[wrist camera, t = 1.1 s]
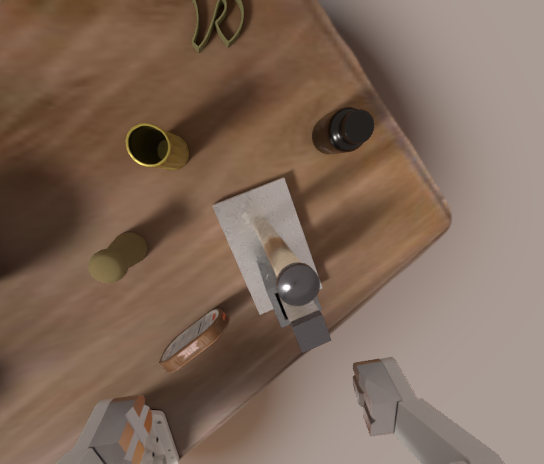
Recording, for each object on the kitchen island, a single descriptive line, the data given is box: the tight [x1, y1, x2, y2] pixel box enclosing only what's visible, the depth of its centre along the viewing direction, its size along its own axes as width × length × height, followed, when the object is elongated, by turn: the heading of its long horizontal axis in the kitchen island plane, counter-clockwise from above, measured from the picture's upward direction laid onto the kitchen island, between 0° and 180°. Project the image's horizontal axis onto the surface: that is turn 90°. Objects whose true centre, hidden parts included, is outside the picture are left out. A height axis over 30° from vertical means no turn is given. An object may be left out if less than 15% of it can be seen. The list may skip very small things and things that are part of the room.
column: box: [277, 292, 331, 353], centre depth 43 cm, size 4×4×20 cm
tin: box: [159, 308, 229, 373], centre depth 51 cm, size 15×3×8 cm, turn 126°
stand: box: [212, 177, 322, 328], centre depth 40 cm, size 24×14×29 cm, turn 20°
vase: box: [126, 123, 189, 170], centre depth 40 cm, size 6×6×14 cm
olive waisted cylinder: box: [89, 232, 148, 283], centre depth 44 cm, size 6×6×11 cm
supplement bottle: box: [312, 107, 374, 154], centre depth 45 cm, size 7×7×12 cm
